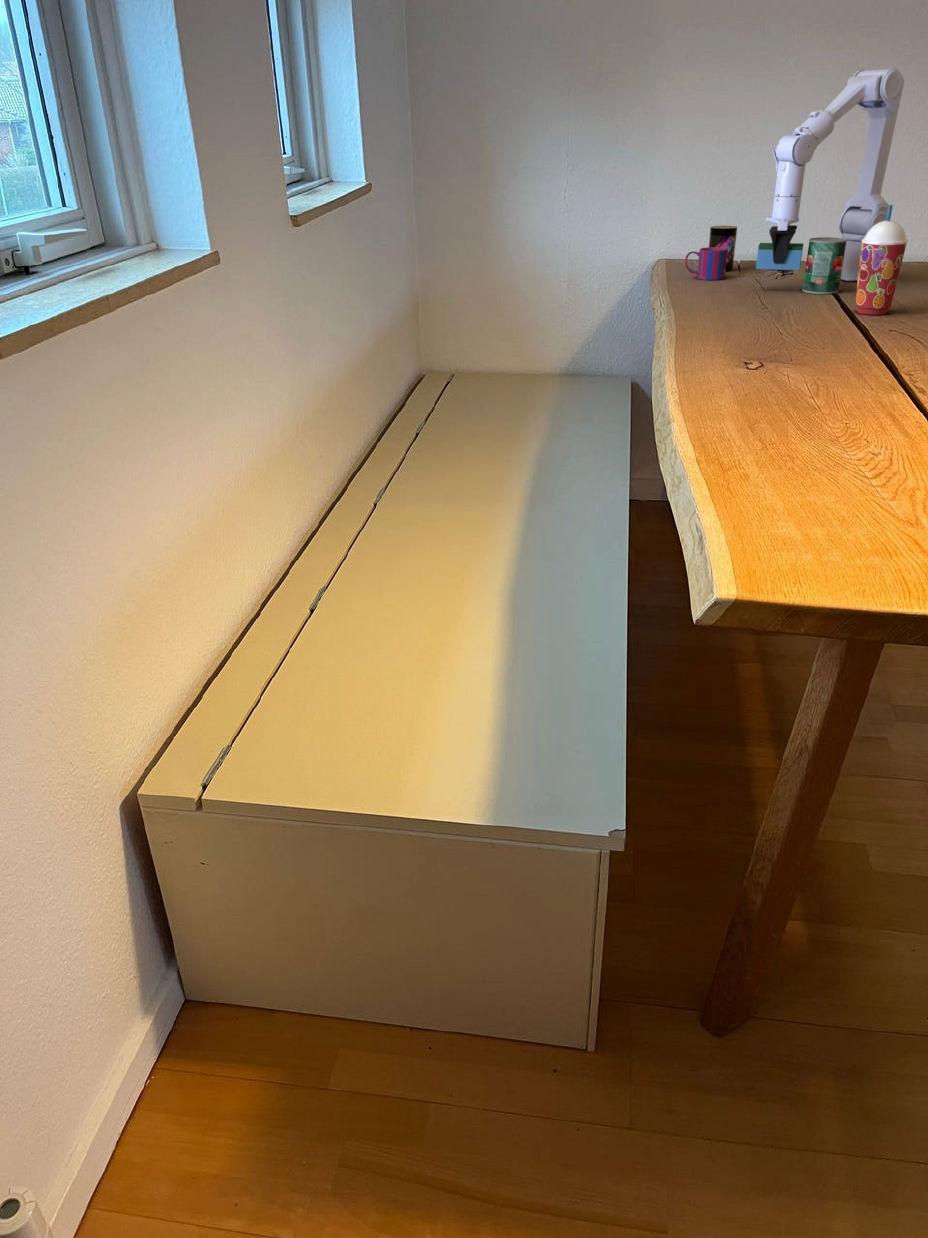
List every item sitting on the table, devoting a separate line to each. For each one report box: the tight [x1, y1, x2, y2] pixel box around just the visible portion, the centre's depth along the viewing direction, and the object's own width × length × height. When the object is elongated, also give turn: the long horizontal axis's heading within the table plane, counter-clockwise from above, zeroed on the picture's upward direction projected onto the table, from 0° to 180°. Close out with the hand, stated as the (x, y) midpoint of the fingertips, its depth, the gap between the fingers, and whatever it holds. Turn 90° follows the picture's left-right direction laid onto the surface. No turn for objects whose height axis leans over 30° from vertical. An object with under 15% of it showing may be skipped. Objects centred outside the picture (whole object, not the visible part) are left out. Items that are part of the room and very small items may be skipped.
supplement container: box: [708, 225, 738, 272], centre depth 240 cm, size 7×7×10 cm
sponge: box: [755, 242, 804, 271], centre depth 211 cm, size 10×5×5 cm, turn 71°
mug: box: [684, 246, 728, 281], centre depth 230 cm, size 7×10×7 cm
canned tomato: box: [801, 236, 847, 295], centre depth 209 cm, size 8×8×11 cm
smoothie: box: [854, 204, 909, 316], centre depth 184 cm, size 8×8×20 cm
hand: (779, 261), depth 211 cm, fingers closed on sponge, 5 cm apart
